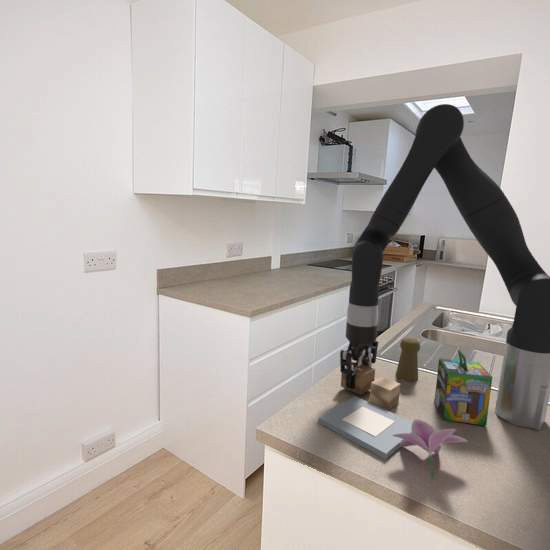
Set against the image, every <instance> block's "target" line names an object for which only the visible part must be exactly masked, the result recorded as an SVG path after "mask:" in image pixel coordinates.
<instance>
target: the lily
mask: <svg viewBox="0 0 550 550" xmlns="http://www.w3.org/2000/svg"><path fill="white" fill-rule="evenodd" d="M412 422H413V423H412V427H411V431H412V434H411V433H403V434H395V435H392V436H395V437H399V438H402V439H405V440H404V441H403V442H402V443H401V445H400V447H399V448H406V447H412V446H413V447H414V446H418V447H420V448H421V449H422V450H423V451H426V452H427V454H429V455H428V456H429V466H430V475H431V479H434V470H433V461H432V454H433V453H434V454H439V453H440V452H441V449H442V444H443V445H444V444H447V443H467V442H468V440H467V439H465V438H463V437H461V436H458V435H455V434H454V433H455V432H456V431H457V429H455V428H444V429H438V430H436V429H435V428H434V426H432V425H431V424H430V423H428V422H426V421H423V420H421V419H414V420H413V421H412Z"/></svg>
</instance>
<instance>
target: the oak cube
mask: <svg viewBox="0 0 550 550" xmlns="http://www.w3.org/2000/svg"><path fill="white" fill-rule="evenodd" d="M400 392H401V383H400V382H397V381H394V380H392V379H389V378H386V377H383V376H381V377H378V378H377V379H374V381H373V382H371V389H370V390H369V400H368V402H369V403H371V404H374V405H376V406H378V407H380V408H383V409H385V410H387V411H389V410H390V409H392V408H393V407H394V406H396V405H397V404H399V402H400V401H399V400H400Z"/></svg>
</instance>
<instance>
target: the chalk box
mask: <svg viewBox="0 0 550 550" xmlns="http://www.w3.org/2000/svg"><path fill="white" fill-rule="evenodd" d="M457 352H458V358H459V359H455V358H451V359H450V358H443V357H440V358H439V360H438V366H437V377H436V382H435V384H436V386H435V394H434V398H433V399H434V400H433V401H434V404H435V406H436V409H437V410H438V412H439V415H440V417H441V419H442V421H449V422H453V423H454V422H456V423H465V424H472V425H477V426H478V425H480V426H487V423H488V415H489V405H490V400H491V399H490V398H491V391H492V384H493V375H491V374H490V373H489V372H488V370H487V369H486V368H485V367H483V365H482V364H481V363H479V362H478V361H472V360H471V361H470V360H466V356H465V354H464V353H463V352H462V350H461V349H459V348H458V349H457Z"/></svg>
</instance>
